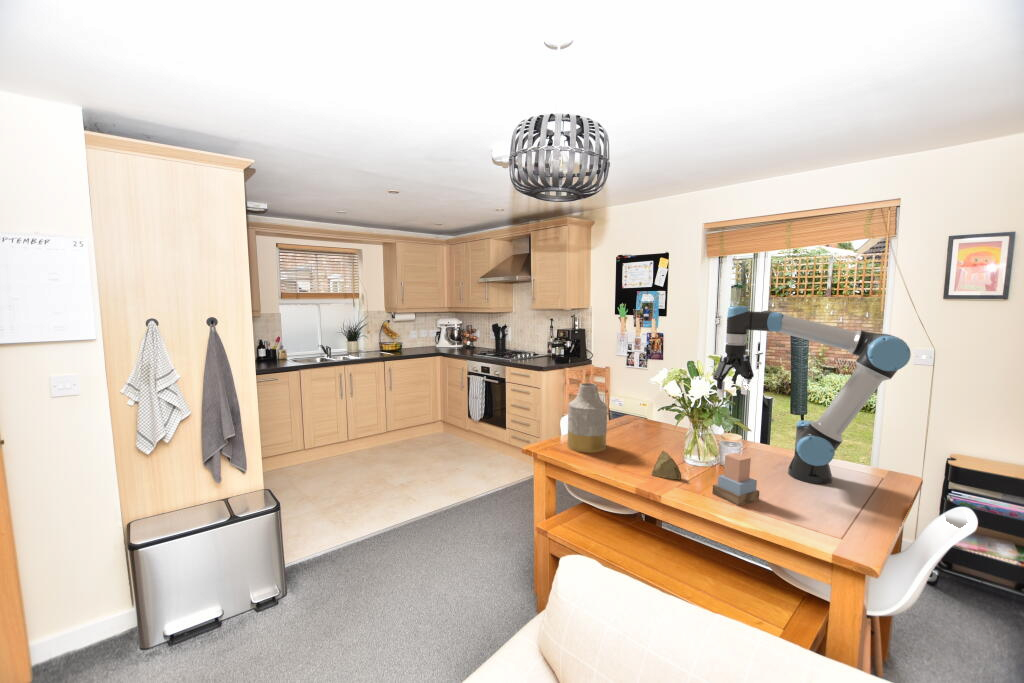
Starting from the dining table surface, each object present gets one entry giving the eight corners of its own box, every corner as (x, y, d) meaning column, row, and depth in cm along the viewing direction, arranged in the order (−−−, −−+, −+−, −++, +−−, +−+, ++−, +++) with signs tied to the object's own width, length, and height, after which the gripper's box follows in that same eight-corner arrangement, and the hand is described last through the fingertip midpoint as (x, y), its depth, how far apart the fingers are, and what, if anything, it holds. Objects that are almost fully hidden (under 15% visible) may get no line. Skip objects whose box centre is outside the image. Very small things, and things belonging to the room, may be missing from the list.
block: (734, 473, 174) (736, 452, 173) (749, 479, 168) (750, 457, 168) (723, 476, 171) (725, 455, 170) (738, 482, 166) (739, 460, 165)
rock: (689, 473, 187) (670, 461, 195) (682, 459, 183) (663, 448, 191) (671, 491, 184) (652, 479, 193) (664, 478, 180) (646, 466, 189)
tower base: (732, 490, 178) (733, 479, 178) (758, 501, 168) (759, 491, 168) (712, 495, 173) (712, 484, 173) (738, 507, 163) (738, 496, 163)
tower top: (734, 481, 176) (734, 471, 175) (756, 491, 168) (756, 480, 167) (717, 486, 172) (718, 475, 171) (739, 495, 164) (740, 484, 163)
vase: (566, 440, 234) (567, 380, 231) (602, 441, 233) (604, 381, 230) (569, 452, 216) (570, 388, 213) (608, 453, 215) (611, 389, 212)
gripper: (749, 342, 197) (746, 391, 199) (705, 344, 187) (702, 396, 189) (765, 344, 190) (761, 395, 192) (720, 346, 180) (717, 400, 182)
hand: (732, 395), depth 190 cm, fingers open, 13 cm apart
